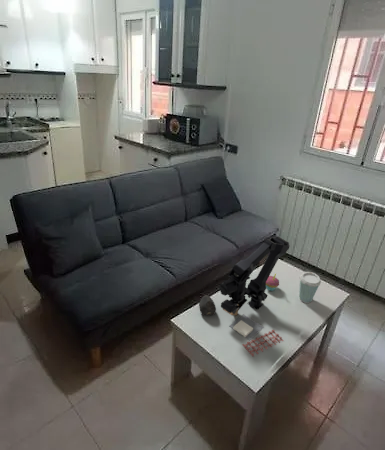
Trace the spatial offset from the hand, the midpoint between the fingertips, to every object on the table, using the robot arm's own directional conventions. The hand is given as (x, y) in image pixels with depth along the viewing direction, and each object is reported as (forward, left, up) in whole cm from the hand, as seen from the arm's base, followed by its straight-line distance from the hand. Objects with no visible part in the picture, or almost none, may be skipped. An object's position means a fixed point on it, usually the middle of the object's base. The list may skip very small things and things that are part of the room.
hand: (235, 312), depth 154 cm
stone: (+9, -11, -2) cm, 14 cm away
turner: (0, -3, -2) cm, 3 cm away
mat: (+3, +9, -2) cm, 10 cm away
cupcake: (-32, +1, -2) cm, 32 cm away
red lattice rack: (+6, +20, -2) cm, 21 cm away
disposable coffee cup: (-38, +19, -2) cm, 43 cm away
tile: (+3, +9, 0) cm, 9 cm away
